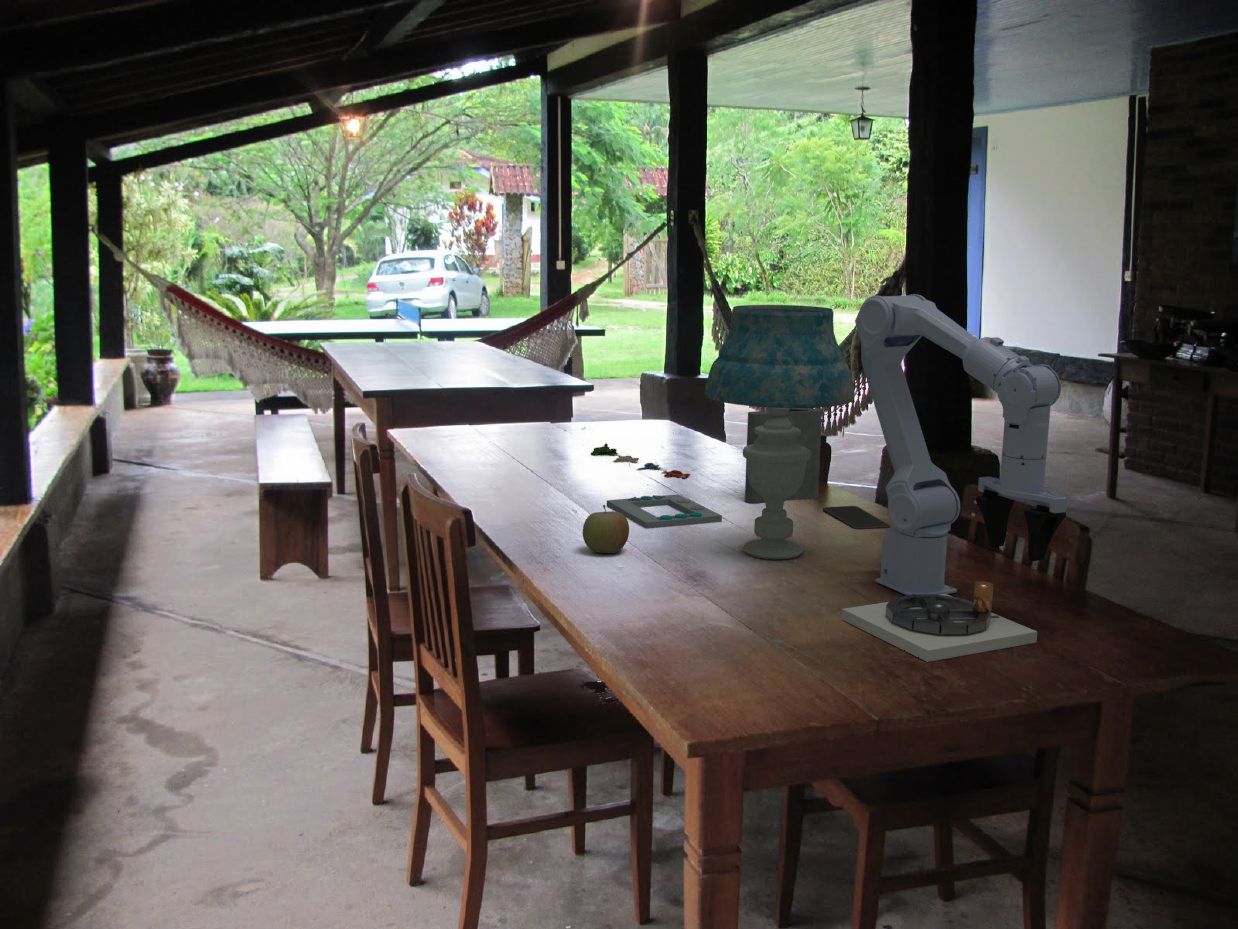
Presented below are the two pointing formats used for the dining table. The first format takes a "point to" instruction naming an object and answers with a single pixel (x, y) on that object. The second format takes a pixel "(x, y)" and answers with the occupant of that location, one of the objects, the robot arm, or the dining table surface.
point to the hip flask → (808, 438)
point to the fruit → (606, 531)
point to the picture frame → (645, 519)
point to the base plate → (938, 645)
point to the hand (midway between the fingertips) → (1016, 552)
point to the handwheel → (944, 611)
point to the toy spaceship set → (607, 451)
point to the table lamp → (779, 401)
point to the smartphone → (855, 517)
